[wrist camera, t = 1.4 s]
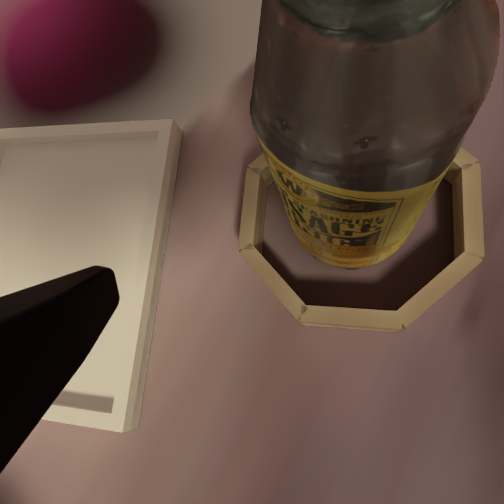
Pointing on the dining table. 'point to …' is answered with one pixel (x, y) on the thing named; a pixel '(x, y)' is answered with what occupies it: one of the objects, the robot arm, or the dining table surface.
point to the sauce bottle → (367, 112)
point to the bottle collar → (465, 259)
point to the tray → (93, 242)
